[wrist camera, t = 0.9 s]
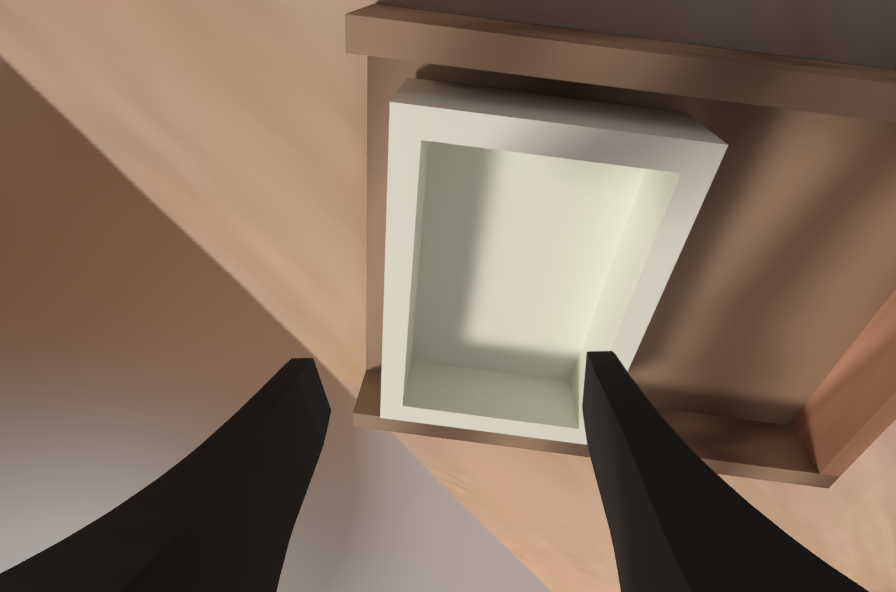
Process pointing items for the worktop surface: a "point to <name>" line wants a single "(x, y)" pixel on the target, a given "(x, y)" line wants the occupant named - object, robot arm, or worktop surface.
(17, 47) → the worktop surface
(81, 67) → the worktop surface
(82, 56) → the worktop surface
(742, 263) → the bay
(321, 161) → the worktop surface
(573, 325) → the crate
